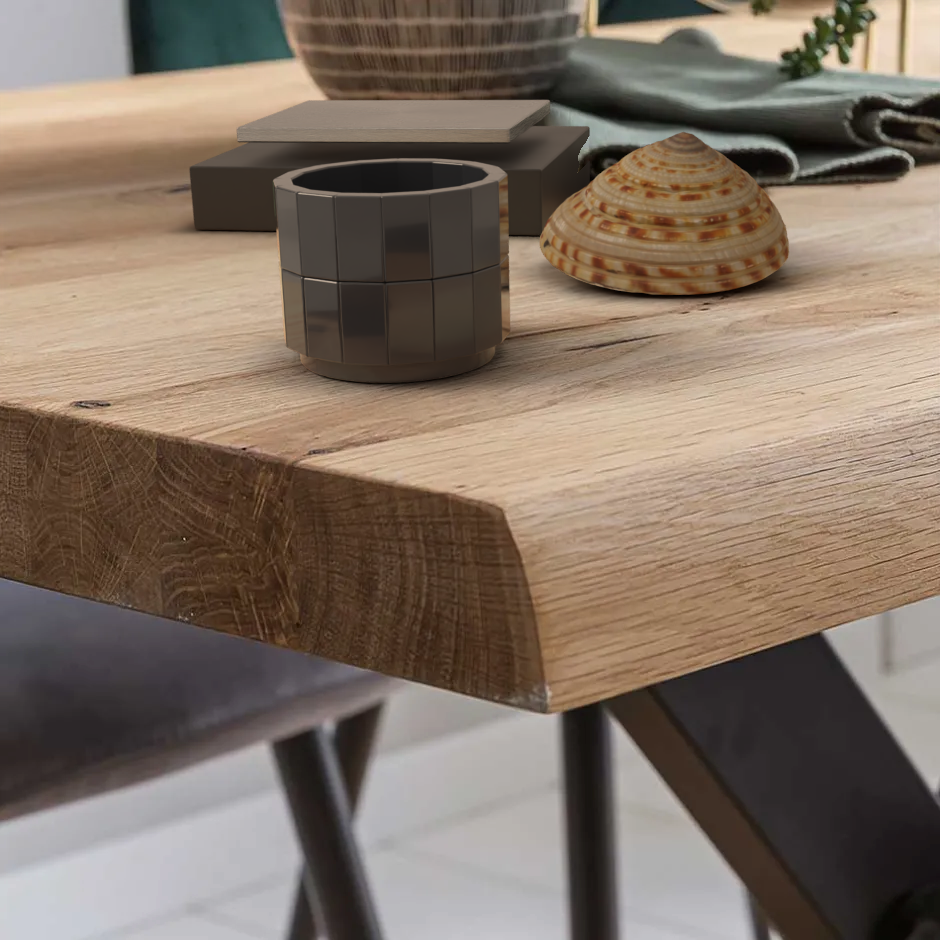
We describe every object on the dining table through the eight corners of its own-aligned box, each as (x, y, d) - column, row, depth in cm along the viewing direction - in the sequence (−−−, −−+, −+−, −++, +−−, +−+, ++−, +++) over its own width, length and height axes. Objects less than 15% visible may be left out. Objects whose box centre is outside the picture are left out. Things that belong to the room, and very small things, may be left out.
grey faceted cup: (254, 383, 42) (240, 194, 40) (325, 324, 47) (315, 157, 46) (482, 392, 40) (477, 197, 39) (528, 330, 46) (525, 159, 44)
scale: (191, 230, 62) (186, 167, 61) (292, 180, 73) (288, 125, 72) (541, 236, 59) (540, 170, 58) (590, 182, 70) (589, 125, 69)
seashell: (734, 173, 58) (808, 109, 50) (747, 324, 58) (825, 284, 50) (514, 183, 57) (556, 120, 49) (527, 338, 56) (571, 300, 49)
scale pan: (236, 142, 62) (235, 127, 62) (308, 113, 70) (307, 100, 70) (509, 143, 60) (509, 127, 60) (550, 113, 68) (550, 99, 68)
